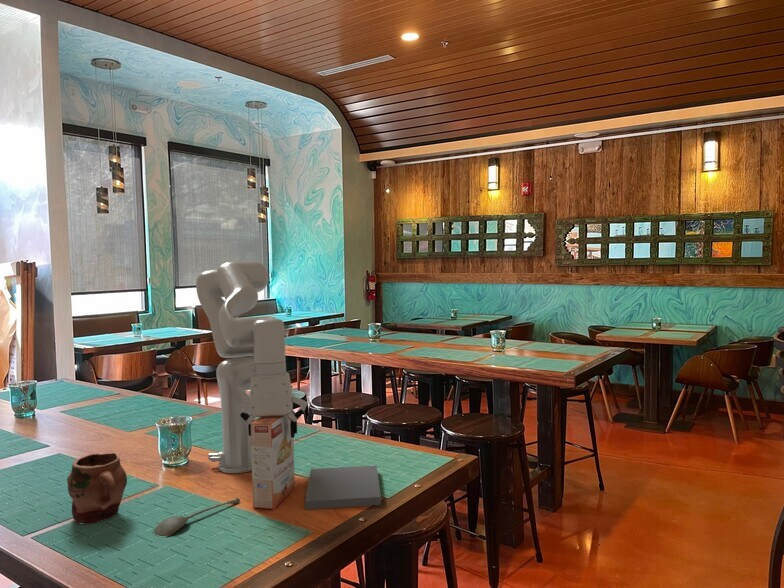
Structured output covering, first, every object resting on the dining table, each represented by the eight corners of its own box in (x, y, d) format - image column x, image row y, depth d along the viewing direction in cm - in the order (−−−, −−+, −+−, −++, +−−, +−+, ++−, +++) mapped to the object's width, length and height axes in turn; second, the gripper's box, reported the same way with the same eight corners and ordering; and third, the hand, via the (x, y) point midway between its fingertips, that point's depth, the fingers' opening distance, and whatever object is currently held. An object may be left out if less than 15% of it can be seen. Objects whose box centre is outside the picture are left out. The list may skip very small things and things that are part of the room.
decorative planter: (146, 519, 136) (143, 460, 136) (92, 539, 127) (89, 475, 126) (105, 499, 149) (102, 445, 148) (54, 516, 139) (50, 458, 139)
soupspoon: (147, 536, 130) (162, 546, 126) (146, 522, 130) (162, 531, 125) (231, 500, 147) (247, 507, 143) (230, 487, 146) (246, 494, 142)
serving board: (305, 509, 139) (304, 501, 139) (311, 476, 161) (310, 468, 161) (381, 505, 140) (380, 496, 140) (376, 472, 162) (376, 465, 162)
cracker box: (275, 510, 139) (272, 423, 138) (251, 509, 140) (248, 422, 139) (296, 488, 153) (294, 408, 152) (275, 486, 154) (272, 408, 153)
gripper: (231, 373, 141) (234, 443, 141) (304, 369, 142) (307, 440, 142) (237, 367, 148) (240, 435, 149) (306, 364, 149) (309, 431, 150)
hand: (273, 437), depth 146 cm, fingers open, 9 cm apart
